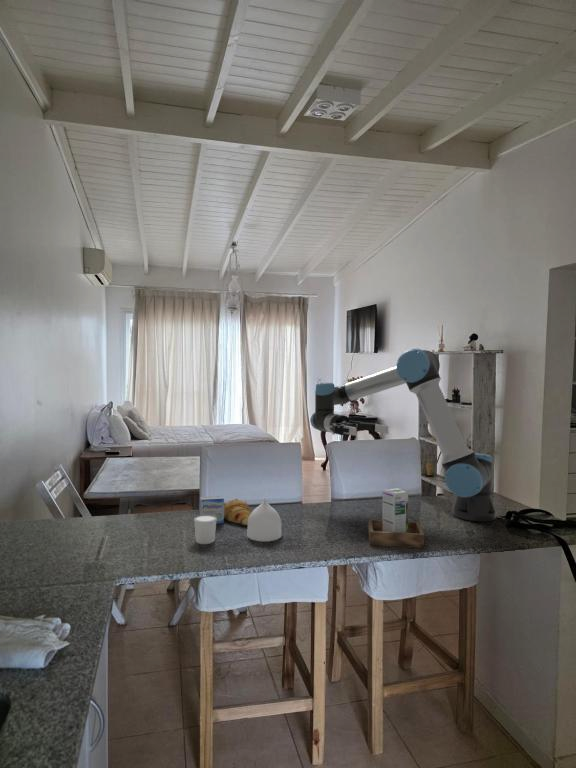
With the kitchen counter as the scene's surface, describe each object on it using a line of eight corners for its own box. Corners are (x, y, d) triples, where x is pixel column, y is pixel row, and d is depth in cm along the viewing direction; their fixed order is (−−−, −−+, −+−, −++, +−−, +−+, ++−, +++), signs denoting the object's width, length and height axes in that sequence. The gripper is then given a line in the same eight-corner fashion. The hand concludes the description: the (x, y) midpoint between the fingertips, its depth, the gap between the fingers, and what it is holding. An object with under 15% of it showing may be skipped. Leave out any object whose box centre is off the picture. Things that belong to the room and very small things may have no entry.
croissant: (256, 536, 169) (266, 514, 171) (231, 526, 165) (242, 503, 166) (231, 518, 188) (241, 498, 189) (209, 508, 183) (219, 488, 185)
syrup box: (393, 540, 154) (394, 493, 153) (381, 534, 159) (382, 489, 158) (408, 537, 156) (409, 491, 156) (395, 532, 161) (396, 487, 161)
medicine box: (200, 525, 169) (200, 499, 169) (199, 521, 173) (199, 496, 173) (224, 523, 171) (224, 498, 171) (222, 520, 175) (222, 495, 175)
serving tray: (418, 534, 163) (418, 521, 163) (423, 548, 150) (424, 534, 150) (368, 531, 165) (368, 519, 165) (369, 545, 152) (370, 531, 152)
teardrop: (265, 527, 167) (266, 492, 167) (288, 536, 160) (289, 498, 159) (239, 535, 160) (240, 497, 159) (262, 544, 152) (263, 504, 152)
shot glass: (220, 538, 156) (220, 516, 156) (209, 546, 150) (210, 522, 149) (200, 536, 158) (200, 514, 158) (189, 543, 152) (189, 520, 152)
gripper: (364, 432, 198) (399, 439, 179) (309, 435, 187) (341, 443, 168) (364, 413, 198) (400, 418, 179) (309, 415, 186) (341, 421, 168)
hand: (371, 430), depth 174 cm, fingers open, 13 cm apart
